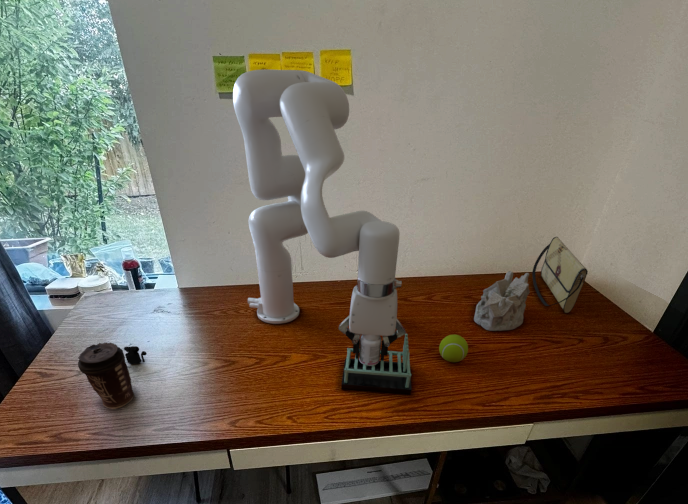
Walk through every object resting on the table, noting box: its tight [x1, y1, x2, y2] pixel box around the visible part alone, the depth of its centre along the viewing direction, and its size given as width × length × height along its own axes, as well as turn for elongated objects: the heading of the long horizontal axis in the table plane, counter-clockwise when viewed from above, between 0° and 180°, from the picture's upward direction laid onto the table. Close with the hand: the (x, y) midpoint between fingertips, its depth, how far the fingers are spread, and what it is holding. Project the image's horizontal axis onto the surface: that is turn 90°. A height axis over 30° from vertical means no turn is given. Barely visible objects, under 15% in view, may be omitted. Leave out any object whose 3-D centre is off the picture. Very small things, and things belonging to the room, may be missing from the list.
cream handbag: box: [531, 236, 589, 314], centre depth 127 cm, size 30×7×15 cm, turn 172°
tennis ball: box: [438, 334, 469, 363], centre depth 99 cm, size 7×7×7 cm
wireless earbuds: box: [123, 345, 148, 365], centre depth 97 cm, size 7×2×5 cm, turn 96°
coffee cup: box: [77, 342, 135, 410], centre depth 84 cm, size 9×8×13 cm
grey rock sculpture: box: [473, 270, 531, 332], centre depth 115 cm, size 16×16×15 cm
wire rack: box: [340, 333, 413, 396], centre depth 92 cm, size 16×10×11 cm, turn 84°
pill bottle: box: [358, 334, 382, 366], centre depth 89 cm, size 5×5×8 cm
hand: (369, 355), depth 91 cm, fingers open, 5 cm apart
